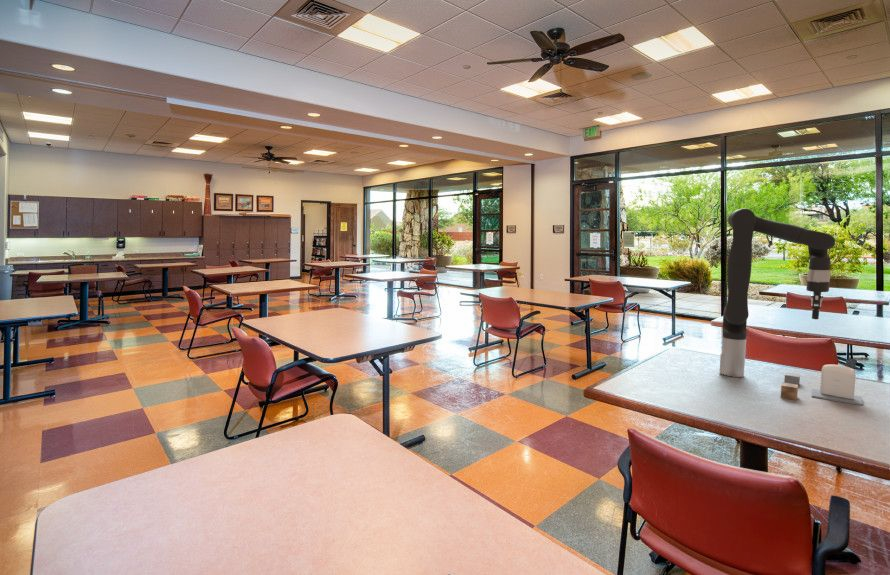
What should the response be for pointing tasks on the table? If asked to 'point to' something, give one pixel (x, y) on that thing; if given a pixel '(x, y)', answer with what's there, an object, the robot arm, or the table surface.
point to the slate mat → (837, 398)
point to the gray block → (792, 378)
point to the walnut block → (789, 391)
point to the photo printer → (838, 381)
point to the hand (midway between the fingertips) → (815, 317)
